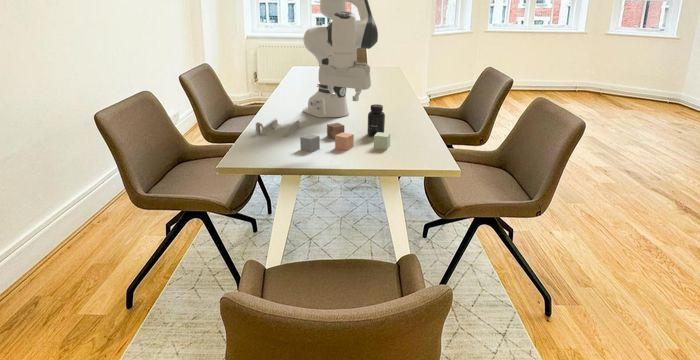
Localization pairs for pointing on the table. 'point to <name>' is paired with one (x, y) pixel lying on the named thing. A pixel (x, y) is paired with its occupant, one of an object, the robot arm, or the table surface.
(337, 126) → the walnut cube
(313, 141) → the slate grey cube
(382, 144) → the sage cube
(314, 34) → the robot arm
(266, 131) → the skate ramp
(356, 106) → the table surface
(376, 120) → the supplement bottle
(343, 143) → the terracotta cube
